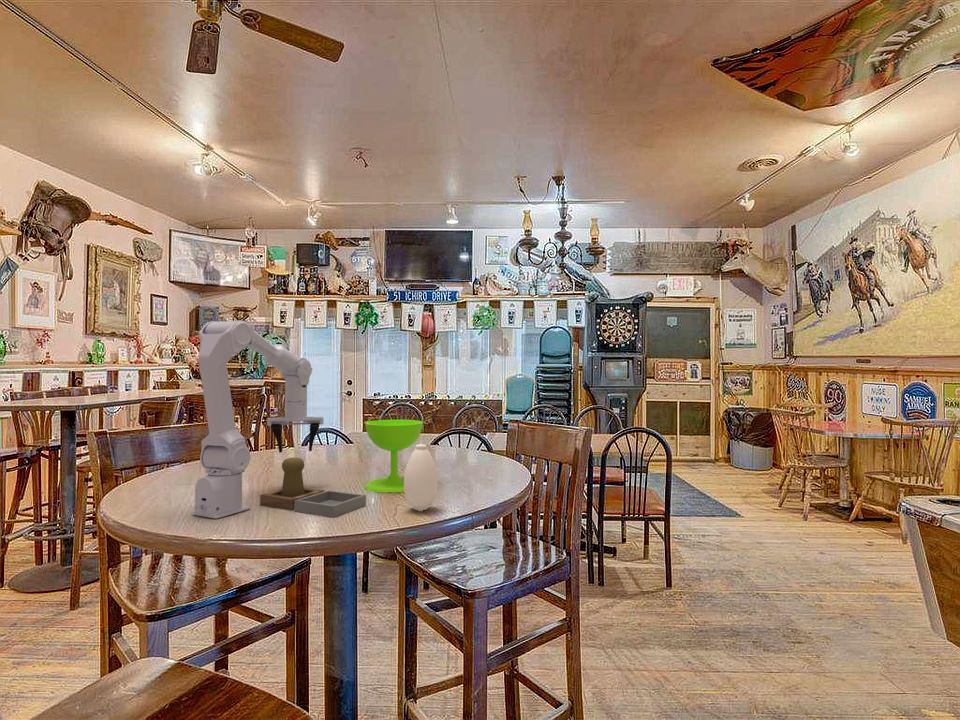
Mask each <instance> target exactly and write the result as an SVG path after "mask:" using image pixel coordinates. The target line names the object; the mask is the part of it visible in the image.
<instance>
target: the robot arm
mask: <svg viewBox="0 0 960 720" xmlns="http://www.w3.org/2000/svg"><path fill="white" fill-rule="evenodd" d="M198 337H199V344H200V346H199V352H198V363H199V364H198V365H199V372H200V378H201V385H202V391H203V392H202V393H203V400H204V406H205V412H206V413H205V414H206V420H207V427H208V435H206V436H205V437H204V438H203V439H202V440H201V443H200V444H201V450H200V451H201V452H200V454H199V455H200V456H199V461H200V462H199V463H200V465H201V466H202V468H204V469H205V473H206V474H207V475H206V476H204V477H201V478H199V479H198V480H197V481H196V484H195V488H194V511H192V515H193V516H200V517H204V518H210V519H221V518H223V517H227V516H230V515H234V514H238V513H241V512H243V511H244V512H245V511H247V510H250V509H251V506H248V505H243V473H245V472H246V469H247V468H248V466H249V464H250V461H251V452H250V449H249V447H248V446H247V443H246V438H245V437H244V436H243V435H242V434H241V433H240V432H239V431H238V430H237V429H236V423H235V414H234V407H233V400H232V393H231V388H230V377H229V372H228V362H229V361H230V360H231V358H233V357H234V356H235V355H238V353H240V352H241V351H242V350H244V349H245V348H249V349H250V350H252V351H254V352H255V353H258V354H260V355H261V356H263V357H264V360H265V362H266V363H267V364H268V365H270V366H272V367H273V368H274V369H276V370H278V371H279V372H280V375H281V376H282V378H284V383H285V384H284V417H282V416H281V417H268V418H267V419H266V420H267V421H266V424H267V425H266V426H268V427H269V426H270V428H271V431H272V433H273V435H274V438H275V440H276V443H277V448H278V453H283V426H294V425H295V426H297V425H303V426H304V425H309V445H308V452H312V450H313V443H314V441H315V438H316V435H317V433H318V431H319V429H320V425H324V416H308V386H309V383H310V377H311V375H312V372H313V368H312V365H311V363H310V361H309V360H308V359H307V358H305V357H299V356H298V355H297V353H295V352H292V351H290V350H289V349H287V348H286V347H287V346H286V345H285V344H282V343H281V344H279V343H278V344H272V343H271V342H269V341H268V340H267V339H266V338H264V337H263V336H262V335H261V334H259V333H258V332H257V331H256V330H255V327H254V326H253V325H251V324H249V323H248V322H247V321H245V320H242V319H241V320H234V321H233V320H230V321H211V320H210V321H209V322H206V323H205V325H204V326H203V327H202V328H201V329H200V330H199V331H198Z"/></svg>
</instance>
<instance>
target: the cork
mask: <svg viewBox="0 0 960 720" xmlns="http://www.w3.org/2000/svg"><path fill="white" fill-rule="evenodd" d="M304 468H305V462H304V459H303V458H302V457H289V458H285V459H284V460H282V463H281V469H282V471H283V472H284V473H283V478H282V487H281V489H282V492H281V496H286V497H297V496H300V495H303V494H305V492H304V488H305V487H304V479H303V470H304Z"/></svg>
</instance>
